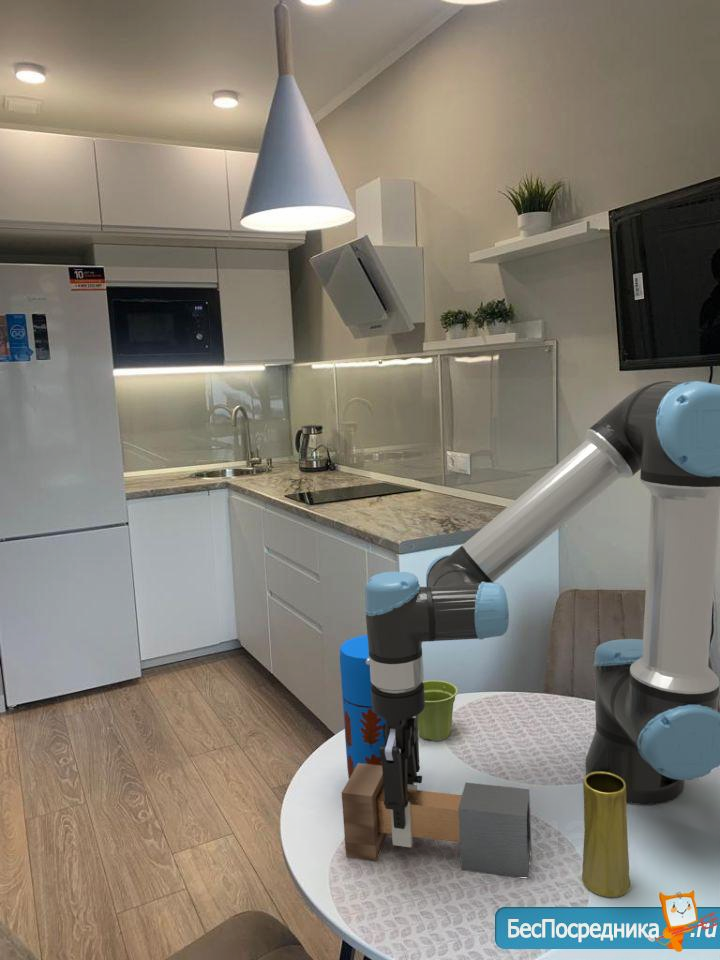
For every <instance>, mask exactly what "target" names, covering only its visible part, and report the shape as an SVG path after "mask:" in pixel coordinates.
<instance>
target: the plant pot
mask: <svg viewBox="0 0 720 960" xmlns="http://www.w3.org/2000/svg"><path fill="white" fill-rule="evenodd" d="M422 682H423V684H424V694H425V707H424V709H423V711H422V712H421V713H420V714H418V736H420V737H421V738H422V739H424V740H426V739H427V740H430V741H433V742H434V741H442V740H445V739H447V738H448V737H449V736H450V735H451V733H452V722H453V713H454V712H453V711H454V703H455V701H456V697H457V695H458V692H459V691H458V687H457V686H455V685H454V684H453V683H450V682H448V681H444V680H423V681H422Z"/></svg>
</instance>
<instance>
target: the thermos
mask: <svg viewBox="0 0 720 960" xmlns="http://www.w3.org/2000/svg"><path fill="white" fill-rule="evenodd" d="M339 647H340V649H339V670H340V679H341V680H340V681H341V682H340V684H341V694H342V695H341V696H342V697H341V698H342V707H343V709H342V710H343V723H344V724H343V725H344V737H345V738H344V739H345V752H346V764H347V765H346V766H347V776H348V779H349V778H350V777H351V775H352V773H353V771H354V769H355V768H356V766H357V764H358V763H363V764H372V765H382V761H381V757H380V752H379V748H380V746H381V745H383V746H385V738H384V737H383V726H384V724H386V721H385V719H383V718H382V717H381V716H378V715H377V714H376V713H375V712H374V711H373V709H372V699H371V685H372V683H371V678H370V665H367V664H366V660H367V658H369V649H368V637H367V634H365V635H359V636H355V637H353V638H350V639H348V640H346V641H344V642H342V644H341V646H339Z"/></svg>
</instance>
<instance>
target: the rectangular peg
mask: <svg viewBox="0 0 720 960" xmlns="http://www.w3.org/2000/svg"><path fill="white" fill-rule="evenodd" d="M461 797H462V794H453V793H444V792H435V791H427V790H426V791H425V790H419V789H417V790H410V789H408V802H410V810H411V827H412V838H416V839H417V838H419V839H426V840H433V841H441V842H448V843H457V844H460V832H459V811H458V808H459V804H460V801H461ZM384 801H385V795H384V786H382V787H381V789H380V791H379V793H378V795H377V797H376V812H377V828H378V832H380V833H387V835H388V834H389V835H392V823H391V809H386V807H385V805H384Z"/></svg>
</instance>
